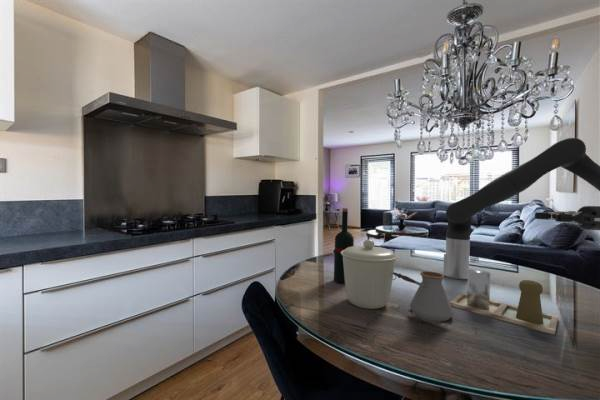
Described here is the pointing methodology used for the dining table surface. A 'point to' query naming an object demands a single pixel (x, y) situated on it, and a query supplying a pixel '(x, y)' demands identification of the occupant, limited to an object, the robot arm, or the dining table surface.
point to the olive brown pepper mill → (530, 302)
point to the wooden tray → (507, 314)
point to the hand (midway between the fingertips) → (545, 216)
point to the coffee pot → (429, 298)
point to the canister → (368, 274)
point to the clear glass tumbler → (478, 289)
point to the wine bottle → (341, 248)
